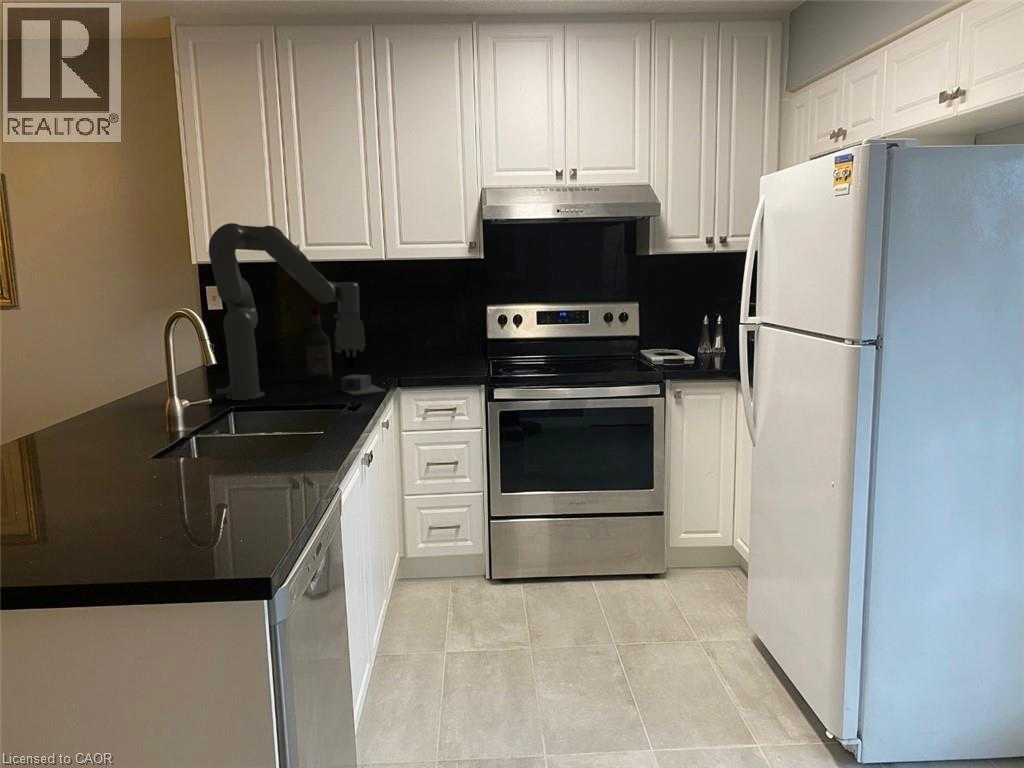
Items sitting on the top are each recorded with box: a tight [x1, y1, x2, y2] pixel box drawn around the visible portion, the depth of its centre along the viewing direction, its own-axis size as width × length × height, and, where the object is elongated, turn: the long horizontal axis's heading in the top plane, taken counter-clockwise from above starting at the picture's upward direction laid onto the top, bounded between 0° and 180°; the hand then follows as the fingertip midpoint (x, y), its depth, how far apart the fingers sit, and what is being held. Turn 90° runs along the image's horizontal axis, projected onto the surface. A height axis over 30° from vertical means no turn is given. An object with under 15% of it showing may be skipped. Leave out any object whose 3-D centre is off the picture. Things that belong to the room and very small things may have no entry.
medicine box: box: [340, 374, 372, 391], centre depth 256 cm, size 8×4×9 cm
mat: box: [340, 384, 387, 396], centre depth 254 cm, size 12×14×1 cm
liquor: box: [304, 304, 333, 383], centre depth 279 cm, size 9×9×30 cm
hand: (350, 367), depth 250 cm, fingers closed
